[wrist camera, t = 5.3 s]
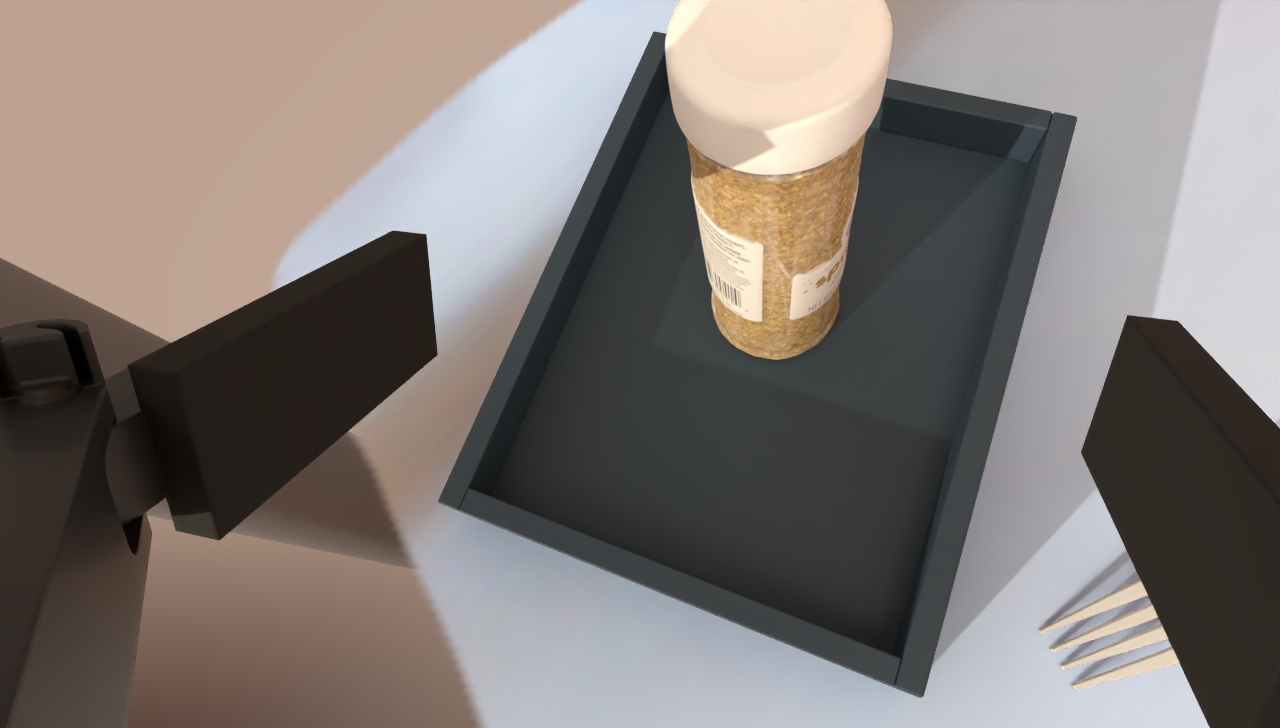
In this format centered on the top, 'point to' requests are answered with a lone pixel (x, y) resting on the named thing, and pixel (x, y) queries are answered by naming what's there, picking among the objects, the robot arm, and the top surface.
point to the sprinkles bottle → (776, 153)
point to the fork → (1116, 625)
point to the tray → (776, 383)
